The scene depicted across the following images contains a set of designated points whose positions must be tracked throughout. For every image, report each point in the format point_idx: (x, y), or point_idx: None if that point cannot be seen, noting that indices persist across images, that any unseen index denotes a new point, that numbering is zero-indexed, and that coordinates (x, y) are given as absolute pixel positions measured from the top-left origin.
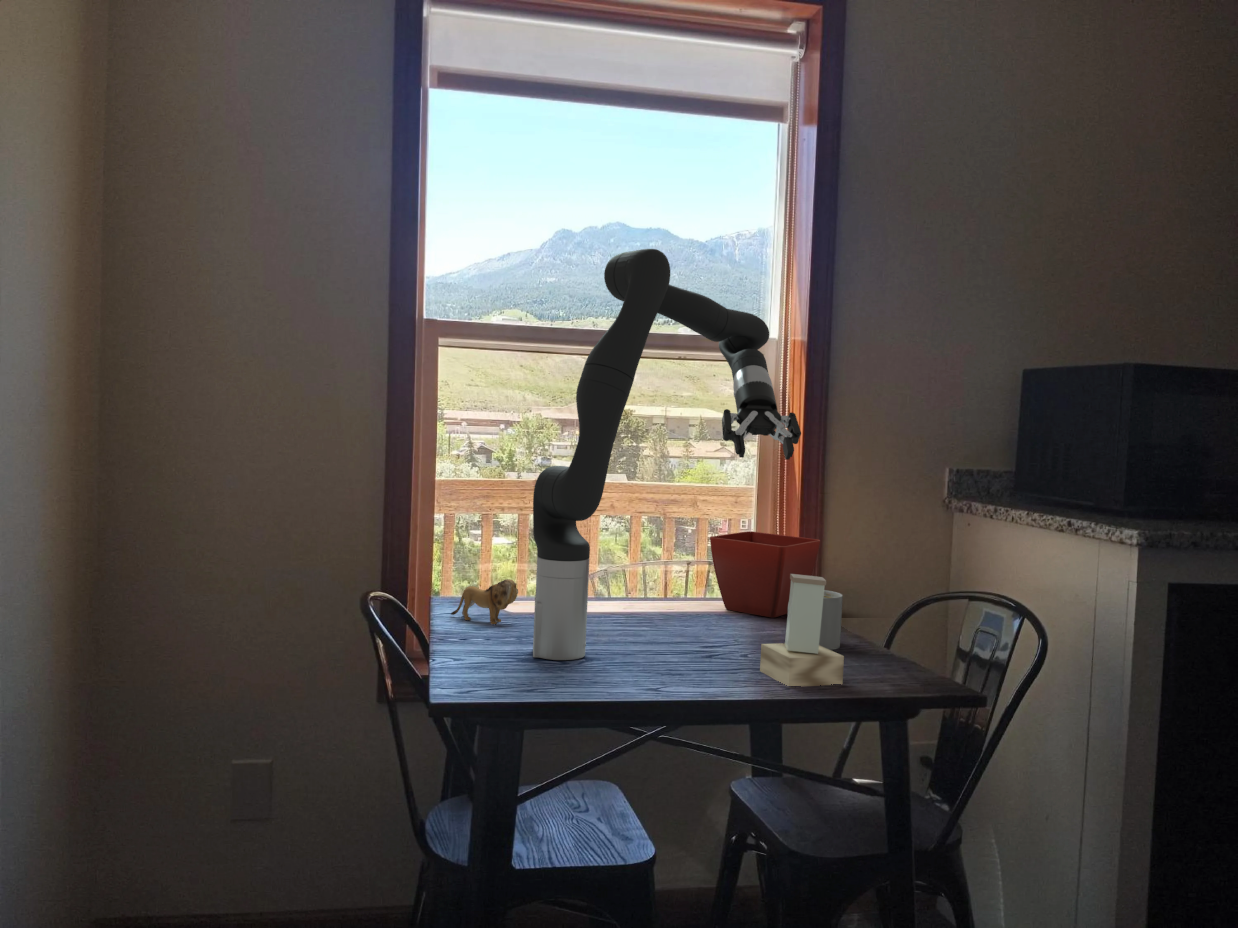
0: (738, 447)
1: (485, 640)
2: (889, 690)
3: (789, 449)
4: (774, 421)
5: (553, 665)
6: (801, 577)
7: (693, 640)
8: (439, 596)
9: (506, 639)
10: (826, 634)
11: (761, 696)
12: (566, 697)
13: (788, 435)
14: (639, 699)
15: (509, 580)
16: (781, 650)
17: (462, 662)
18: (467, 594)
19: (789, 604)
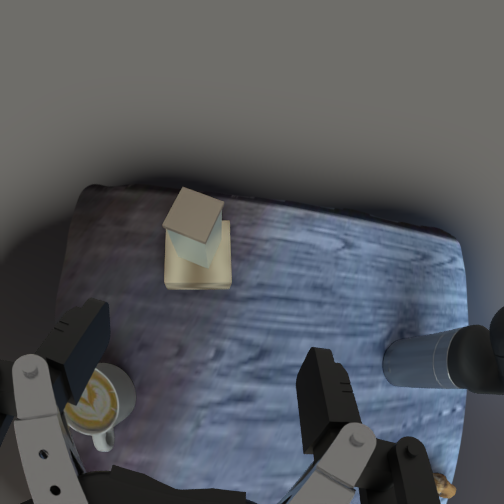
0: (340, 371)
1: (442, 409)
2: (139, 208)
3: (91, 306)
4: (62, 479)
5: (409, 325)
6: (208, 206)
7: (252, 428)
8: None
9: (428, 416)
10: (101, 363)
11: (265, 211)
12: (404, 237)
13: (36, 366)
14: (361, 222)
15: (441, 486)
16: (222, 251)
17: None
18: (453, 485)
19: (210, 244)
